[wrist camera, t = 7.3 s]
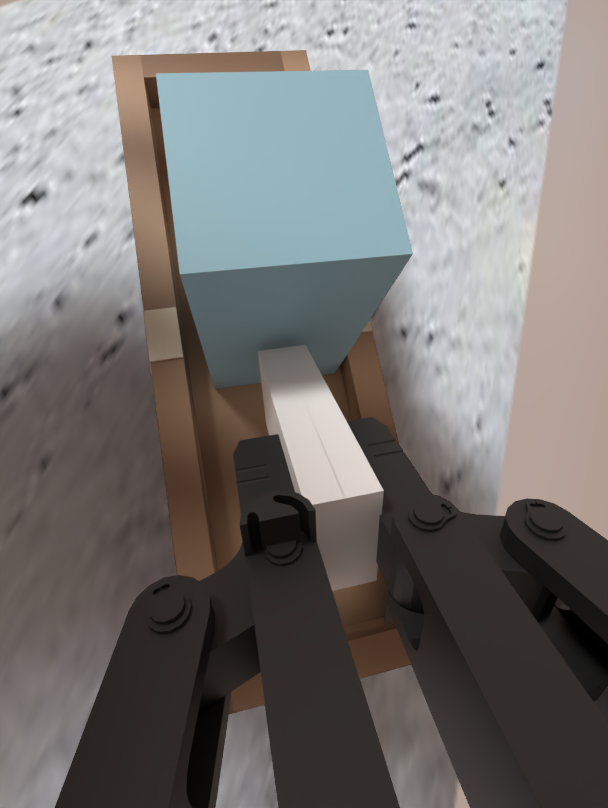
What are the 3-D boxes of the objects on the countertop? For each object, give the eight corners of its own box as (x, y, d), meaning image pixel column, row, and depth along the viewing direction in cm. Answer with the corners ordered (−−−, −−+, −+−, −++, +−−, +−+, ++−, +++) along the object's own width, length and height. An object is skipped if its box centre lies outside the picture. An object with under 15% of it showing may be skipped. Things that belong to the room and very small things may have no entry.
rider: (334, 373, 18) (412, 253, 9) (215, 388, 17) (180, 274, 9) (314, 267, 19) (368, 70, 10) (200, 276, 18) (156, 73, 10)
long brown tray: (394, 607, 21) (457, 653, 15) (206, 654, 20) (185, 727, 13) (297, 158, 26) (312, 47, 20) (141, 169, 25) (103, 53, 18)
